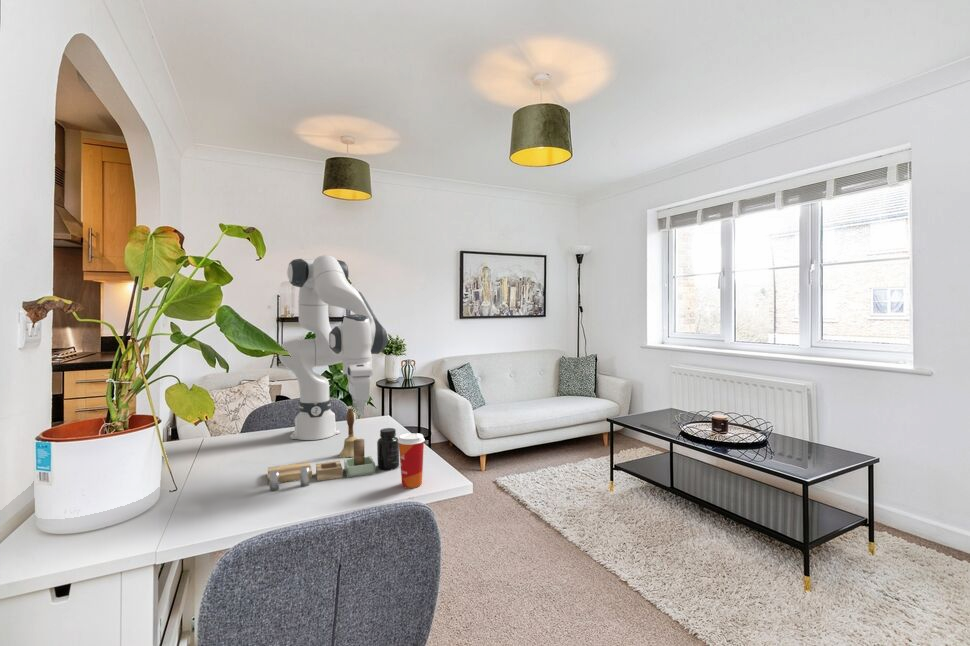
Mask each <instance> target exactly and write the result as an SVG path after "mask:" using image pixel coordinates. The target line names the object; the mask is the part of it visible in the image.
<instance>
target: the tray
mask: <svg viewBox="0 0 970 646" xmlns="http://www.w3.org/2000/svg"><path fill="white" fill-rule="evenodd" d="M343 462H344V464H343V466H344V473H345V475H346V477H347V478H354V477H361V476H367V475H366V474H368V475H374V473H375V474H376V463H375V461H374V460H373V458H372V456H370V455H369V456H365V465H358V466H354V457H353V458H345V459H344V460H343Z"/></svg>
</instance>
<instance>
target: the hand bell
mask: <svg viewBox="0 0 970 646" xmlns="http://www.w3.org/2000/svg"><path fill="white" fill-rule="evenodd" d="M346 423H347V426H348V427H347V429H348V431H347V432H348V436H347V438H345V439H344V442H343V447H342V450H341V451H340V453H339V455H338V457H340V456H341V457H340V458H343V457H347V458H346V459H350V458H349V457H353V458H354V440H356V439H358V438H357V437H355V436H354V423H355V413H354V410H353V407H352V408H351V407H350V408H348V410H347V413H346Z"/></svg>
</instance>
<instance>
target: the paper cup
mask: <svg viewBox="0 0 970 646" xmlns="http://www.w3.org/2000/svg"><path fill="white" fill-rule="evenodd" d="M425 441H426V440H425V438H424V434H422V433H418V432H417V433H416V432H412V433H408V432H407V433H403V434H401V435H399V436H398V443H399V466H400V477H401V485H402V487H403V488H404V487H406V489H415V488H414V487H417V488H419V487H421V486H422V485H423V473H424V472H423V470H424V469H423V467H424V447H425V446H424V443H425ZM421 484H422V485H421ZM420 485H421V486H420ZM418 486H419V487H418Z"/></svg>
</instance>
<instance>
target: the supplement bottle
mask: <svg viewBox="0 0 970 646" xmlns="http://www.w3.org/2000/svg"><path fill="white" fill-rule="evenodd" d="M396 435H397V432H396V428H393V427H387V428H386V427H385V428H382V429H380V430H379V438H378V439H377V442H376V446H377V447H376V448H377V449H376V450H377V451H376V452H377V453H376V454H377V467H378V469H379V470H381V471H392V470H391V469H393V470H395V468H396V469H398V467H399V466H400V453H399V443H398V440H399V437H397V436H396Z"/></svg>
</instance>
